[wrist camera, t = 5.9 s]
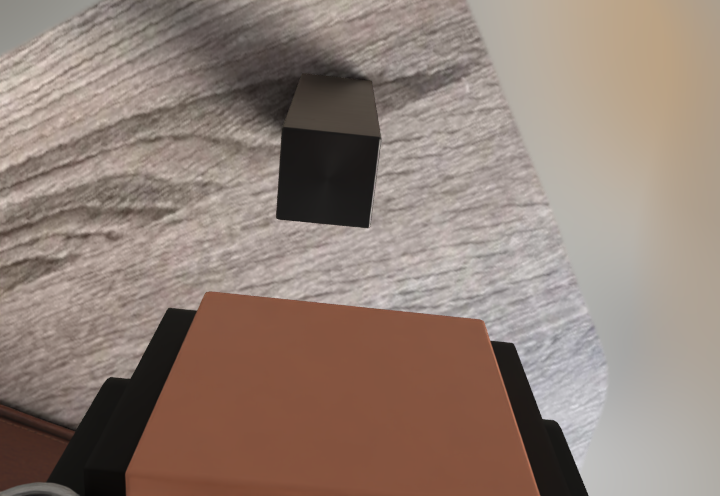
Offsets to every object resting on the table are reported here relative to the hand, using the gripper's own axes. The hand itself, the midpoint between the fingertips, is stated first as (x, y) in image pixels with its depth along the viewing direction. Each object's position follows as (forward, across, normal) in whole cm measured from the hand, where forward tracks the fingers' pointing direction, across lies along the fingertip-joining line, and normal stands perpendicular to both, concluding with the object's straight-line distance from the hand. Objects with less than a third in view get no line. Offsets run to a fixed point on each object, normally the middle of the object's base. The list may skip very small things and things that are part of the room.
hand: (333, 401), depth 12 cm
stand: (+22, +1, 0) cm, 22 cm away
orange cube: (0, 0, 0) cm, 0 cm away
